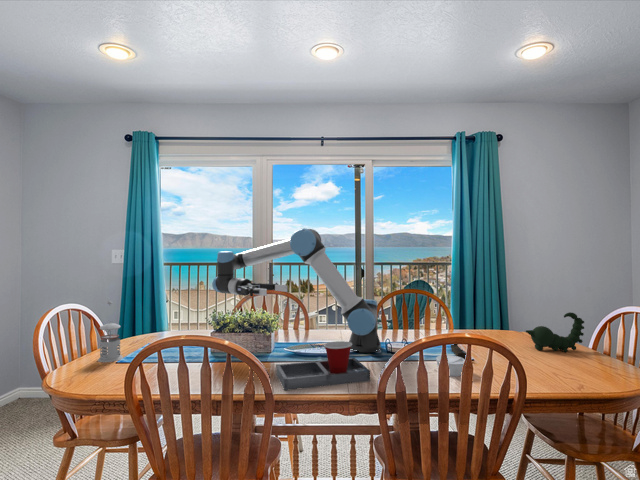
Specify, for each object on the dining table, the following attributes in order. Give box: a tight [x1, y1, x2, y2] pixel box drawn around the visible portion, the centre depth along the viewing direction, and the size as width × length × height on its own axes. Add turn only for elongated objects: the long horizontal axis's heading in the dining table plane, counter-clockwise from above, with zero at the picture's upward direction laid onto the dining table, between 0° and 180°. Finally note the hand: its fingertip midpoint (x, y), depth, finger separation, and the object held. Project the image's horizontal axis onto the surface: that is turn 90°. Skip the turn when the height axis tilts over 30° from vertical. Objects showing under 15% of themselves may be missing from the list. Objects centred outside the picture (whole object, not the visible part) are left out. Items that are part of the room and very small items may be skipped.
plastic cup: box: [323, 340, 352, 374], centre depth 156 cm, size 11×11×12 cm
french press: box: [97, 300, 124, 363], centre depth 178 cm, size 10×12×25 cm
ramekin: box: [435, 354, 465, 377], centre depth 161 cm, size 11×11×5 cm
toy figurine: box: [525, 312, 585, 353], centre depth 190 cm, size 9×19×25 cm
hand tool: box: [450, 343, 467, 359], centre depth 184 cm, size 19×4×5 cm, turn 173°
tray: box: [275, 357, 371, 391], centre depth 155 cm, size 32×16×4 cm, turn 106°
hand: (276, 290), depth 174 cm, fingers open, 13 cm apart
